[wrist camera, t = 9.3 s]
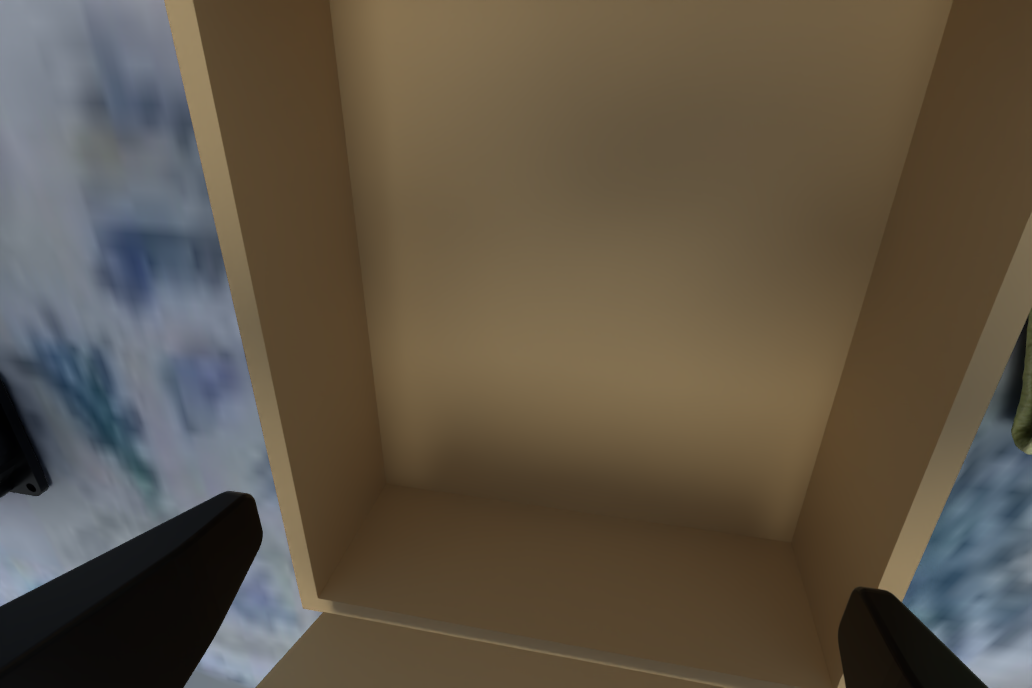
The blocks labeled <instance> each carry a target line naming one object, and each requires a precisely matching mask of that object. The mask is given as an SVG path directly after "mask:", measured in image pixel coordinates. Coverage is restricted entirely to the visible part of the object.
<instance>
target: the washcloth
mask: <svg viewBox="0 0 1032 688" xmlns="http://www.w3.org/2000/svg"><path fill="white" fill-rule="evenodd" d="M1024 364H1025V367H1024V373H1023V377H1022V378H1023V387H1022V392H1021V398H1020V403H1019V405H1018V408H1017V412H1016V416H1015V418H1014V423H1013V426H1012V429H1011V432H1012V437H1013V440H1014V443H1015V445H1016V446H1017V447H1018V448H1019V449H1020V450H1022V451H1023V452H1025V453H1027V454H1032V308H1031V310H1030V313H1029V319H1028V326H1027V340H1026V356H1025V361H1024Z"/></svg>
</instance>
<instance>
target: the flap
mask: <svg viewBox="0 0 1032 688" xmlns="http://www.w3.org/2000/svg"><path fill="white" fill-rule="evenodd" d="M256 688H725V687H720V686H715V685H709V684H704V683H699V682H693V681H688V680H683V679H677V678H672V677H667V676H662V675H656V674H651V673H646V672H640V671H635V670H630V669H624V668H619V667H614V666H608V665H603V664H598V663H593V662H587V661H582V660H577V659H571V658H566V657H561V656H555V655H550V654H545V653H539V652H534V651H529V650H523V649H518V648H513V647H508V646H502V645H497V644H492V643H486V642H481V641H476V640H470V639H465V638H460V637H454V636H449V635H444V634H439V633H433V632H428V631H423V630H417V629H412V628H407V627H401V626H396V625H391V624H385V623H380V622H375V621H370V620H364V619H359V618H354V617H348V616H343V615H338V614H332V613H327V612H323V613H322V614H321V615H320V616H319V618H318V619H317V620H316V621H315V622H314V623H313V624H312V625H311V626H310V628H309V629H308V630H307V631H306V632H305V633H304V634H303V635H302V636H301V638H300V639H299V640H298V641H297V642H296V643H295V644H294V645H293V646H292V648H291V649H290V650H289V651H288V652H287V653H286V654H285V655H284V656H283V658H282V659H281V660H280V661H279V662H278V663H277V664H276V665H275V666H274V668H273V669H272V670H271V671H270V672H269V673H268V674H267V675H266V676H265V678H264V679H263V680H262V681H261V682H260V683H259V684H258V685H257V686H256Z"/></svg>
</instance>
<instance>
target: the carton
mask: <svg viewBox="0 0 1032 688" xmlns="http://www.w3.org/2000/svg"><path fill="white" fill-rule="evenodd" d="M164 1H165V6H166V10H167V15H168V19H169V23H170V28H171V32H172V36H173V41H174V45H175V50H176V54H177V58H178V63H179V67H180V72H181V76H182V80H183V85H184V89H185V93H186V98H187V102H188V107H189V111H190V115H191V120H192V124H193V129H194V133H195V137H196V142H197V146H198V151H199V155H200V159H201V164H202V168H203V172H204V177H205V181H206V186H207V190H208V194H209V199H210V203H211V208H212V212H213V216H214V221H215V225H216V229H217V234H218V238H219V243H220V247H221V251H222V256H223V260H224V265H225V269H226V273H227V278H228V282H229V286H230V291H231V295H232V300H233V304H234V308H235V313H236V317H237V322H238V326H239V330H240V335H241V339H242V343H243V348H244V352H245V357H246V361H247V365H248V370H249V374H250V379H251V383H252V387H253V392H254V396H255V400H256V405H257V409H258V414H259V418H260V422H261V427H262V431H263V436H264V440H265V444H266V449H267V453H268V457H269V462H270V466H271V471H272V475H273V479H274V484H275V488H276V493H277V497H278V501H279V506H280V510H281V514H282V519H283V523H284V528H285V532H286V536H287V541H288V545H289V550H290V554H291V558H292V563H293V567H294V572H295V576H296V580H297V585H298V589H299V593H300V598H301V602H302V607H303V608H304V609H309V610H314V611H320V612H327V613H332V614H338V615H343V616H348V617H354V618H359V619H364V620H370V621H375V622H380V623H385V624H391V625H396V626H401V627H407V628H412V629H417V630H423V631H428V632H433V633H439V634H444V635H449V636H454V637H460V638H465V639H470V640H476V641H481V642H486V643H492V644H497V645H502V646H508V647H513V648H518V649H523V650H529V651H534V652H539V653H545V654H550V655H555V656H561V657H566V658H571V659H577V660H582V661H587V662H593V663H598V664H603V665H608V666H614V667H619V668H624V669H630V670H635V671H640V672H646V673H651V674H656V675H662V676H667V677H672V678H677V679H683V680H688V681H693V682H699V683H704V684H709V685H715V686H720V687H725V688H846V686H845V680H844V675H843V669H842V663H841V657H840V652H839V646H838V628H839V624H840V621H841V618H842V616H843V613H844V611H845V608H846V605H847V603H848V600H849V597H850V595H851V593H852V591H853V589H854V588H856V587H859V586H862V587H869V588H876V589H882V590H886V591H889V592H891V593H892V594H893V595H895V596H896V597H897V598H898V599H899V600H900V601H901V602H902V600H903V598H904V596H905V594H906V591H907V589H908V587H909V585H910V582H911V580H912V578H913V575H914V573H915V571H916V569H917V566H918V564H919V562H920V560H921V557H922V555H923V553H924V551H925V548H926V546H927V544H928V541H929V539H930V537H931V535H932V532H933V530H934V528H935V526H936V523H937V521H938V519H939V517H940V514H941V512H942V510H943V507H944V505H945V503H946V501H947V498H948V496H949V494H950V492H951V489H952V487H953V485H954V483H955V480H956V478H957V476H958V473H959V471H960V469H961V467H962V464H963V462H964V460H965V458H966V455H967V453H968V451H969V449H970V446H971V444H972V442H973V439H974V437H975V435H976V433H977V430H978V428H979V426H980V424H981V421H982V419H983V417H984V415H985V412H986V410H987V408H988V405H989V403H990V401H991V399H992V396H993V394H994V392H995V390H996V387H997V385H998V383H999V381H1000V378H1001V376H1002V374H1003V371H1004V369H1005V367H1006V365H1007V362H1008V360H1009V358H1010V356H1011V353H1012V351H1013V349H1014V347H1015V344H1016V342H1017V340H1018V337H1019V335H1020V333H1021V331H1022V328H1023V326H1024V324H1025V322H1026V319H1027V317H1028V315H1029V313H1030V310H1031V308H1032V0H164Z"/></svg>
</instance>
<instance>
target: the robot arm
mask: <svg viewBox="0 0 1032 688" xmlns="http://www.w3.org/2000/svg"><path fill="white" fill-rule="evenodd" d="M48 487H49V486H48V482H47V480H46V478H45V476H44V474H43V471H42V469H41V467H40V465H39V463H38V460H37V458H36V456H35V454H34V451H33V449H32V447H31V445H30V443H29V440H28V438H27V436H26V434H25V431H24V429H23V427H22V425H21V423H20V420H19V418H18V416H17V414H16V412H15V409H14V407H13V405H12V403H11V400H10V398H9V396H8V394H7V392H6V389H5V387H4V385H3V383H2V381H1V380H0V498H1V497H3V496H4V495H6V494H7V493H8V492H14V493H20V494H26V495H32V496H39V495H41V494H42V493H43V492H45V491H46V490H47V489H48ZM262 537H263V531H262V526H261V522H260V518H259V514H258V510H257V506H256V502H255V499H254V498H253V497H252V495H250V494H247V493H241V492H234V491H226V492H223V493H221V494H219V495H217V496H215V497H213V498H211V499H209V500H207V501H205V502H203V503H201V504H199V505H198V506H196V507H194V508H192V509H190V510H188V511H186V512H184V513H182V514H180V515H178V516H176V517H174V518H172V519H170V520H168V521H166V522H164V523H162V524H161V525H159V526H157V527H155V528H153V529H151V530H149V531H147V532H145V533H143V534H141V535H139V536H137V537H135V538H133V539H131V540H129V541H127V542H125V543H123V544H122V545H120V546H118V547H116V548H114V549H112V550H110V551H108V552H106V553H104V554H102V555H100V556H98V557H96V558H94V559H92V560H90V561H88V562H86V563H84V564H83V565H81V566H79V567H77V568H75V569H73V570H71V571H69V572H67V573H65V574H63V575H61V576H59V577H57V578H55V579H53V580H51V581H49V582H47V583H45V584H43V585H42V586H40V587H38V588H36V589H34V590H32V591H30V592H28V593H26V594H24V595H22V596H20V597H18V598H16V599H14V600H12V601H10V602H8V603H6V604H4V605H2V606H1V607H0V688H183V687H184V686H185V684H186V682H187V681H188V679H189V678H190V676H191V675H192V673H193V671H194V670H195V668H196V667H197V665H198V663H199V662H200V660H201V659H202V657H203V655H204V654H205V652H206V650H207V649H208V647H209V645H210V644H211V642H212V640H213V639H214V637H215V635H216V633H217V631H218V630H219V628H220V626H221V624H222V622H223V620H224V618H225V616H226V614H227V612H228V610H229V608H230V606H231V604H232V602H233V600H234V598H235V596H236V594H237V592H238V590H239V588H240V586H241V584H242V582H243V580H244V578H245V576H246V574H247V572H248V570H249V568H250V566H251V564H252V562H253V560H254V558H255V556H256V554H257V552H258V550H259V548H260V545H261V542H262ZM838 646H839V652H840V657H841V663H842V669H843V675H844V680H845V686H846V688H988V687H987V686H986V685H985V684H984V683H983V682H982V681H981V680H980V679H979V678H978V677H977V676H976V675H975V674H974V673H973V672H972V671H971V670H970V669H969V668H968V667H967V666H966V665H965V664H964V663H963V662H962V661H961V660H960V659H959V658H958V657H957V656H956V655H955V654H954V653H953V652H952V651H951V650H950V649H949V648H948V647H947V646H946V645H945V644H944V643H943V642H941V641H940V640H939V639H938V638H937V637H936V636H935V635H934V634H933V633H932V632H931V631H930V630H929V629H928V628H927V627H926V626H925V625H924V624H923V623H922V622H921V621H920V620H919V619H918V618H917V617H916V616H915V615H914V614H913V613H912V612H911V611H910V610H909V609H908V608H907V607H906V606H905V605H904V604H903V603H902V602H901V601H900V600H899V599H898V598H897V597H896V596H895V595H893V594H892V593H891V592H889V591H886V590H882V589H876V588H869V587H862V586H859V587H856V588H854V589H853V591H852V593H851V595H850V597H849V600H848V603H847V605H846V608H845V611H844V613H843V616H842V618H841V621H840V624H839V628H838Z"/></svg>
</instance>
